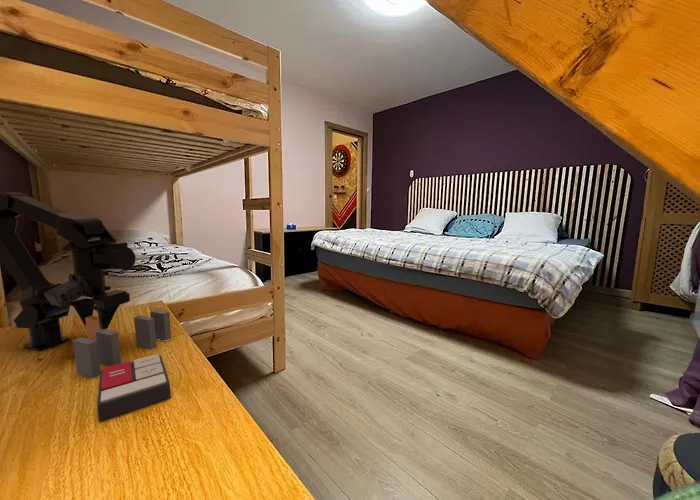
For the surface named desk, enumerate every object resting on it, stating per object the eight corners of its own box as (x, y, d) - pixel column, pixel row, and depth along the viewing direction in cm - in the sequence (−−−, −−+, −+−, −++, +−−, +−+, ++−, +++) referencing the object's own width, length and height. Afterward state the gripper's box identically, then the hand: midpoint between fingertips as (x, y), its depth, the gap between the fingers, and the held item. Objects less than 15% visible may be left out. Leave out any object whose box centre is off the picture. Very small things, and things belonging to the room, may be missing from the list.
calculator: (160, 351, 70) (169, 379, 58) (162, 368, 70) (171, 399, 59) (100, 366, 63) (96, 401, 51) (102, 385, 64) (99, 424, 52)
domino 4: (136, 345, 78) (133, 317, 77) (142, 343, 80) (139, 315, 79) (150, 349, 77) (148, 320, 76) (156, 346, 78) (154, 318, 77)
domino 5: (152, 338, 83) (150, 311, 81) (157, 336, 84) (155, 309, 83) (166, 341, 81) (163, 314, 80) (171, 339, 83) (169, 311, 81)
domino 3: (99, 363, 70) (95, 331, 69) (106, 359, 72) (102, 328, 70) (114, 367, 69) (110, 335, 67) (121, 363, 70) (118, 332, 69)
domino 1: (88, 346, 77) (85, 317, 76) (95, 343, 79) (92, 315, 78) (102, 349, 76) (98, 320, 75) (109, 347, 78) (105, 318, 76)
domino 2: (77, 373, 66) (72, 340, 64) (85, 369, 67) (81, 337, 66) (92, 378, 64) (88, 344, 63) (100, 374, 66) (96, 340, 64)
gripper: (22, 271, 69) (32, 334, 72) (76, 280, 64) (85, 347, 66) (78, 262, 80) (85, 317, 82) (128, 269, 74) (134, 327, 77)
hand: (96, 326), depth 77 cm, fingers open, 6 cm apart
